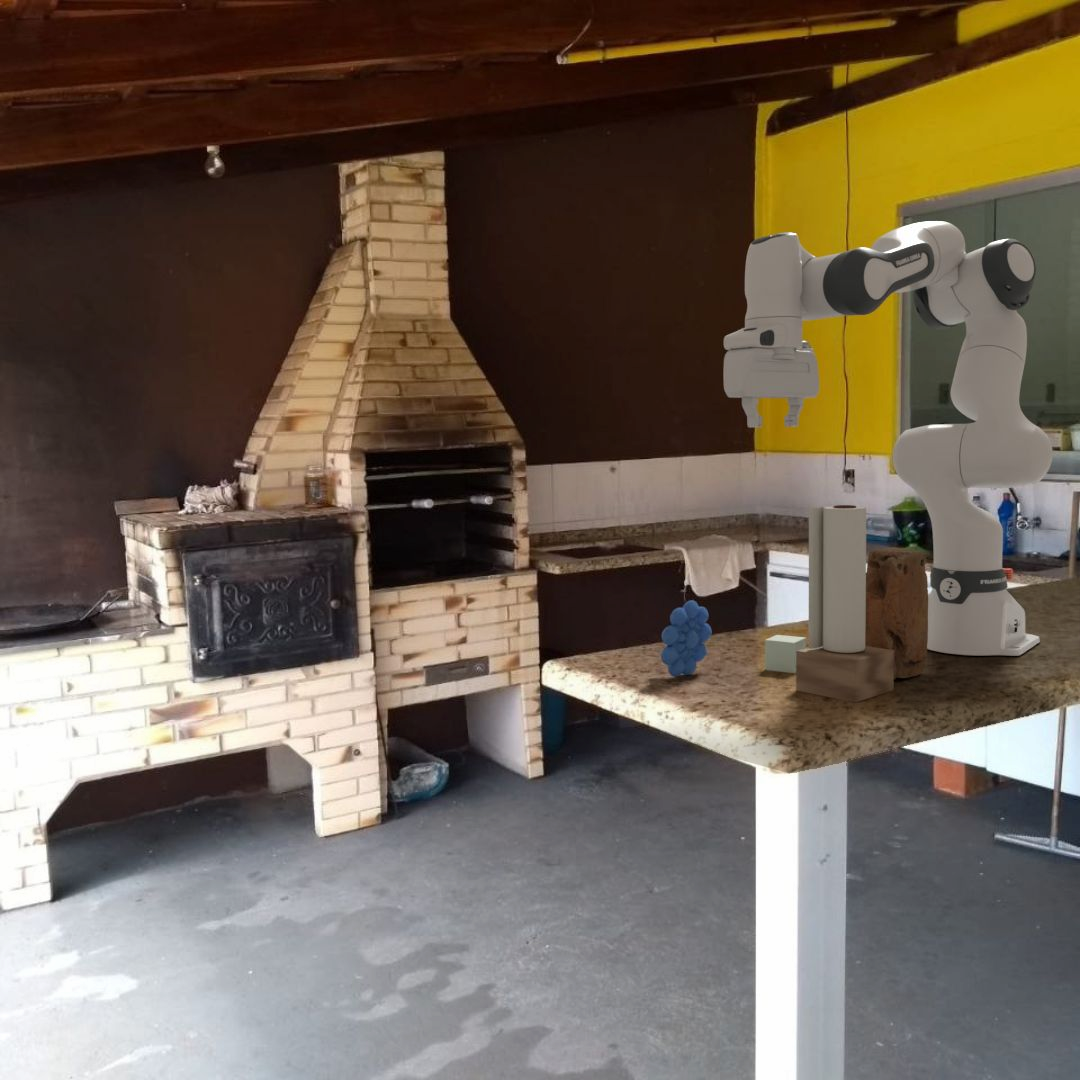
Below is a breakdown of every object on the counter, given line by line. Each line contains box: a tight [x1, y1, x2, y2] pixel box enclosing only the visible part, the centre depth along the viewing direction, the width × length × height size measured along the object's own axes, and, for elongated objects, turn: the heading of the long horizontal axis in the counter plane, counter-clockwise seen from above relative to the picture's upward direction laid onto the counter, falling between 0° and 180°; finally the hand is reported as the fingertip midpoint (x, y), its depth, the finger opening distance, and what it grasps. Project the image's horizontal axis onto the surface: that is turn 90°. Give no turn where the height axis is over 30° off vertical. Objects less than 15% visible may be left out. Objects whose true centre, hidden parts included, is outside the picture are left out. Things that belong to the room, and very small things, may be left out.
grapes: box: [660, 599, 713, 678], centre depth 167 cm, size 12×7×12 cm, turn 134°
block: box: [865, 546, 929, 680], centre depth 163 cm, size 11×8×20 cm
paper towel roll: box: [808, 504, 867, 653], centre depth 155 cm, size 7×6×21 cm
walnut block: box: [795, 646, 894, 703], centre depth 155 cm, size 10×10×6 cm
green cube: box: [764, 634, 807, 674], centre depth 171 cm, size 5×5×5 cm
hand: (773, 427), depth 166 cm, fingers open, 8 cm apart
